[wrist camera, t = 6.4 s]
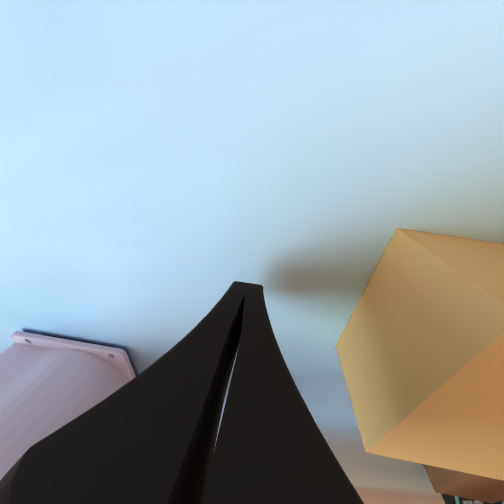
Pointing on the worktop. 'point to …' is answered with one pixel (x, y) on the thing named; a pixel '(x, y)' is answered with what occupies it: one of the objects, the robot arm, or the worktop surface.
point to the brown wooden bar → (465, 484)
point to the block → (431, 354)
